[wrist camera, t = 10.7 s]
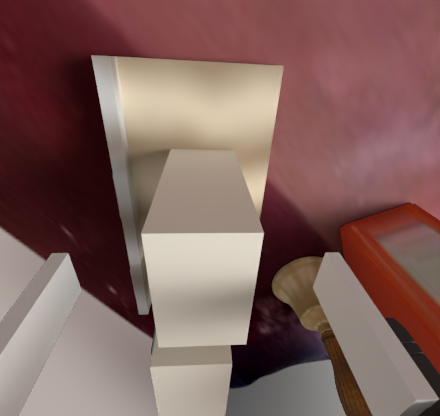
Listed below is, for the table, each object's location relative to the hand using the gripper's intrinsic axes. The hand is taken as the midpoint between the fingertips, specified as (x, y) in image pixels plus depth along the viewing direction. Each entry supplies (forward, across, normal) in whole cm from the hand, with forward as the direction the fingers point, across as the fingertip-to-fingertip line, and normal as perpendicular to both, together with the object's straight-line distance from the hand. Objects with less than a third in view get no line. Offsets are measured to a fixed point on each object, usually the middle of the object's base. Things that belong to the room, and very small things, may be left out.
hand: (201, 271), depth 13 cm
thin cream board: (+12, +1, +3) cm, 12 cm away
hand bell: (+12, -13, +14) cm, 22 cm away
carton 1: (+10, 0, +1) cm, 10 cm away
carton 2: (+9, 0, +11) cm, 14 cm away
